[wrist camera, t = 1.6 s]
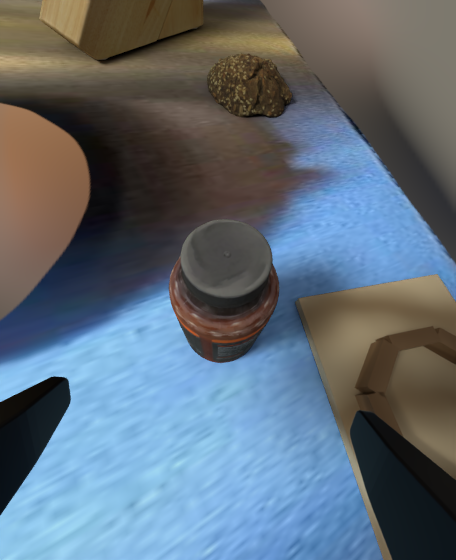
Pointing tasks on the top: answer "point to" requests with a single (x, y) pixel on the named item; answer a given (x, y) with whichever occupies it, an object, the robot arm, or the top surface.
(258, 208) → the top surface
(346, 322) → the holder board
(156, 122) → the top surface
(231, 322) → the supplement bottle
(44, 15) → the knife block
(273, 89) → the bread roll
